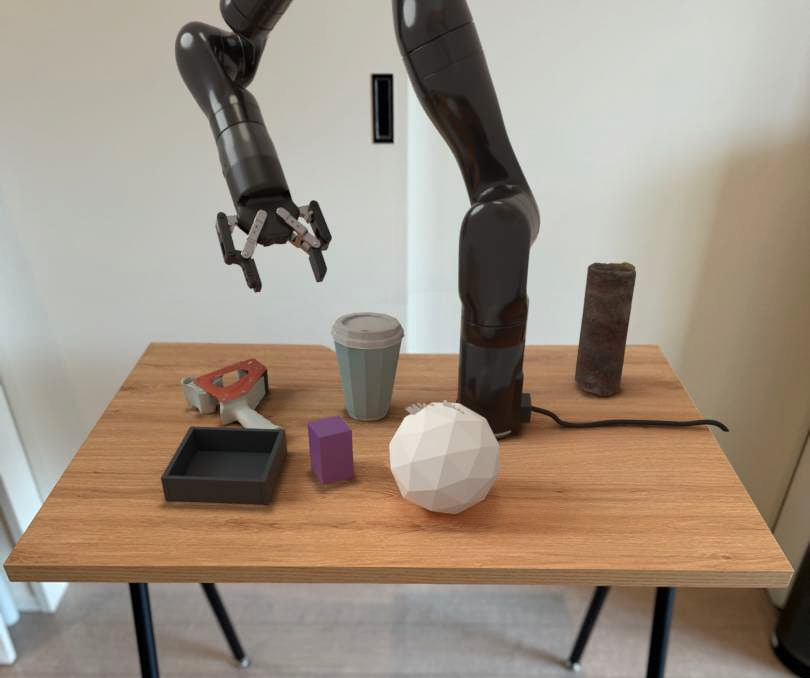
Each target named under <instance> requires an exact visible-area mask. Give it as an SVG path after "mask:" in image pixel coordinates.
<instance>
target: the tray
mask: <svg viewBox="0 0 810 678" xmlns="http://www.w3.org/2000/svg"><path fill="white" fill-rule="evenodd" d="M287 453H288V444H287V435H286V429H284V428H283V429H256V428H244V427H226V426H225V427H224V426H223V427H221V426H194V425H193V426H192V425H190V426H189V427H188V429H187V431H186V433H185V435H184V436H183V437H182V440H181V442H180V444H179V445H178V446H177V448H176V450H175V452H174V454H173V456H172V457H171V459H170V460H169V463H168V464H167V466H166V467H165V470H164V471H163V473H162V474H161V476H160V481H161V485H162V490H163V494H164V499H165V502H175V503H177V502H178V503H199V504H201V503H202V504H203V503H204V504H206V503H207V504H231V505H254V506H269V504H270V501H271V498H272V497H273V496H272V495H273V493H274V490H275V487H276V484H277V481H278V479H279V476H280V473H281V471H282V468H283V465H284V462H285V460H286V456H287Z"/></svg>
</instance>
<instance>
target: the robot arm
mask: <svg viewBox="0 0 810 678" xmlns="http://www.w3.org/2000/svg"><path fill="white" fill-rule="evenodd" d="M294 1H295V0H219V1H218V2H219V3H218V4H219V5H218V6H219V12H220V15H221V17H222V20H223V21H224V22H225V24H226V25H227V27H228V28H229V29H230V30H231V31H228V30H226V29H222V28H221V27H217V26H214V25H211V24H209V23H205V22H202V21H197V20H194V21H188V22H186V23H185V24H184V25H182V26H181V27H180V29H179V30H178V32H177V35H176V37H175V42H174V59H175V63H176V67H177V71H178V73H179V75H180V77H181V80H182V81H183V83H184V85H185V86H186V88H187V90H188V92H189V93H190V94H191V96H192V98H193V99H194V101H195V102H196V104H197V106H198V107H199V109H200V110H201V112H202V113H203V114H204V116H205V118H206V119H207V121H208V123H209V127H210V130H211V133H212V136H213V140H214V142H215V145H216V148H217V153H218V159H219V163H220V167H221V173H222V177H223V178H224V180H225V181H226V185H227V188H228V190H229V195H230V197H231V200H232V203H233V207H234V210H235V213H236V215H235V214H234V215H227V214H226V213H225V212H223V211H219V212H217V214H216V219H215V227H214V228H215V231H216V234H217V238H218V243H219V246H220V251H221V254H222V259H223V262H224V264H225V265H227V266H232V265H237V266H239V267H240V268H241V271H242V272H243V277H244V279H245V282H246V283H245V284H246V285H247V288H249V289H250V290H253V292H254V293H255V294H256V293H261V291H262V288H263V283H262V279H261V277H260V274H259V271H258V267H257V264H256V261H255V259H254V258H252V257H253V256H254V254H255V251H256V249H257V247H258V245H260V246H262V247H263V248H266V247H270V246H273V245H286V244H287V242H288V243H290V244H291V245H292V246H294V247H295V248H297V249H301V250H302V251H303V252H304V253H306V255H308V261H309V265H310V267H311V270H312V273H313V276H314V279H315V282H316V283H322V282H324V279H325V277H326V275H327V272H328V266H327V263H326V261H325V257H324V255H323V252H325V251H327V250H328V249H329V246H330V244H331V241H332V239H333V236H332V234H331V231H330V228H329V227H328V223H327V221H326V218H325V215H324V213H323V212H322V209H321V206H320V204H319V202H318V201H317V200H316V199H315V200H314V199H311V200H310V201H309V204H306V205H302V206H301V205H300V206H298V205H297V204H296V203H295V202H294V200H293V198H292V194H291V190H290V187H289V184H288V182H287V178H286V176H285V172H284V170H283V167H282V163H281V160H280V158H279V154H278V151H277V148H276V146H275V144H274V142H273V140H272V137H271V136H270V133H269V130H268V128H267V125H266V122H265V118H264V116H263V113H262V110H261V107H260V104H259V102H258V100H257V98H256V97H255V95H254V94H253V93H252V92H251V91H250V90H248V87H250V86H251V84H252V83H254V80H255V78H256V75H257V73H258V70H259V67H260V63H261V61H262V58H263V55H264V53H265V50H266V46H267V44H268V41H269V38H270V35H271V33H272V32H273V31H274V29H275V28H276V26H277V25H278V24H279V22H280V21H281V20H282V18H283V17H284V16H285V14H286V13H287V11H289V9H290V7H291V6H292V4H293V2H294ZM390 3H391V13H392V14H391V15H392V25H393V31H394V37H395V41H396V45H397V49H398V51H399V54H400V57H401V60H402V63H403V65H404V69H405V71H406V74H407V76H408V77H407V78H408V79H409V82H410V84H411V87H412V90H413V92H414V94H415V96H416V98H417V101H418V103H419V105H420V107H421V108H422V110H423V112H424V113H425V115H426V116H427V118H428V119H429V121H430V123H431V124H432V125H433V126H434V128H435V130H436V131H437V132H438V134H439V135H440V136H441V138H442V139H443V141H444V142H445V144H446V145H447V147H448V148H449V150H450V151H451V153H452V156H453V157H454V159H455V162H456V163H457V165H458V166H457V167H458V168H459V171H460V173H461V177H462V180H463V183H464V186H465V189H466V193H467V197H468V201H469V205H470V208H468V210H467V211H466V212H465V215H464V216H463V218H462V221H461V223H460V229H459V234H458V235H459V237H458V256H457V259H458V261H457V275H458V276H457V292H458V297H459V300H460V330H459V331H460V332H459V349H458V351H459V352H458V371H457V373H458V374H457V394H456V395H457V396H456V400H455V403H459V404H461V405H463V406H465V407H466V408H468V409H470V410H472V411H473V412H475V413H477V414H479V415H480V416H482V417H484V418H485V419H486V420H487V422H488V424H489V426H490V428H491V430H492V432H493V434H494V436H495V438H496V440H500V439H504V438H508V437H510V436H518V435H519V431H520V423H521V424H530V423H531V417H532V412H533V413H537V414H541V415H544V416H546V417H549V418H550V419H552V420H553V421H554V423H556V424H557V425H559V426H561V427H565V428H569V429H584V428H585V429H586V428H597V427H605V426H607V427H608V426H619V425H620V426H626V425H627V426H631V425H633V426H658V427H660V426H661V427H682V428H683V427H696V426H714V427H717V428H719V429H720V430H721V431H722V432H725V433H729V432H730V429H729V428H728V427H727V426H726V425H725V424H724V423H722V422H721V421H718V420H715V419H708V418H707V419H696V420H686V421H685V420H683V421H679V420H661V419H659V420H658V419H627V418H625V419H622V418H620V419H619V418H618V419H617V418H616V419H606V420H597V421H591V422H569V421H565V420H562V419H561V418H560V417H559V416H558V415H557V414H556V413H554V412H553V411H550V410H548V409H545V408H542V407H537V406H533V405H532V398H531V393H530V392H523V390H524V379H525V374H524V362H525V353H526V352H525V351H526V343H527V342H526V341H527V330H528V321H529V309H530V297H529V295H528V277H529V265H530V264H529V263H530V253H531V249H532V247H533V245H534V244H535V242H536V240H538V235H539V234H540V229H541V214H540V208H539V205H538V203H537V200H536V197H535V196H534V194H533V190H532V189H531V186H530V184H529V182H528V180H527V178H526V175H525V174H524V171H523V168H522V166H521V164H520V162H519V160H518V157H517V155H516V153H515V151H514V148H513V146H512V143H511V140H510V138H509V135H508V132H507V131H508V130H507V128H506V124H505V120H504V117H503V116H504V115H503V113H502V109H501V106H500V102H499V98H498V95H497V92H496V89H495V84H494V81H493V78H492V75H491V71H490V69H489V64H488V61H487V58H486V54H485V51H484V49H483V44H482V42H481V39H480V36H479V33H478V30H477V26H476V23H475V21H474V17H473V14H472V11H471V9H470V6H469V3H468V1H467V0H391V1H390ZM300 218H301V219H303V220H304V221H305V223H306V224H308V225H310V228H311V230H312V232H313V234H311V232H309V229H308V228H307V227H306V226H305V225H304V224H303V223H301V222H300V221H299V219H300ZM235 227H237V228H238V229H240V231H241V232H242V233H244V234H245V235H246V236H247V237H246V240H245V243H244V245H243V248H242V250H240V249H236V247H235V244H234V240H233V235H232V234H233V233H234V230H235ZM294 232H295V233H294Z"/></svg>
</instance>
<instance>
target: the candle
mask: <svg viewBox="0 0 810 678" xmlns="http://www.w3.org/2000/svg"><path fill="white" fill-rule="evenodd" d="M636 278H637V270H636V266H635V265H634V264H632V263H630V262H628V261H623V262H620V263H617V262H616V263H615V262H610V263H606V262H605V263H604V262H603V263H602V262H592V263H591V264H589V265H588V266H587V272H586V280H585V281H586V282H585V288H584V289H585V290H584V297H583V306H582V315H581V322H580V323H581V324H580V331H579V339H578V348H577V355H576V363H575V371H574V374H575V375H574V382H575V383H576V384H577V385H578V387H581V388H582V389H583V390H584V391H585V392H588V393H592V394H593V395H597V396H599V397H609V396H612V395H614V394H615V393H617V392H618V391H620V387H621V383H622V382H621V381H622V376H623V369H624V362H625V353H626V346H627V339H628V332H629V326H630V319H631V311H632V305H633V300H634V299H633V298H634V291H635V285H636Z"/></svg>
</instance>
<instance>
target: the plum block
mask: <svg viewBox="0 0 810 678" xmlns="http://www.w3.org/2000/svg"><path fill="white" fill-rule="evenodd" d="M306 425H307V436H308V447H309V449H308V450H309V460H310V461H309V462H310V470H311V471H312V473H313V474H314V475H315V477H316V478H317V480H318V481H319V482H320V483H321V485H322V486H326V485H329V484H334V483H337V482H341V481H345V480H348V479H354V477H355V470H354V469H355V468H354V450H353V449H354V448H353V446H354V445H353V430H352V428H351V427H350V426H349V425H348V424H347V423H346V422H345V420H344V419H343V418H342V417H341V415H339V414H338V415H334V416H328V417H324V418H319V419H316V420H315V419H314V420H311V421H307V424H306Z"/></svg>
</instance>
